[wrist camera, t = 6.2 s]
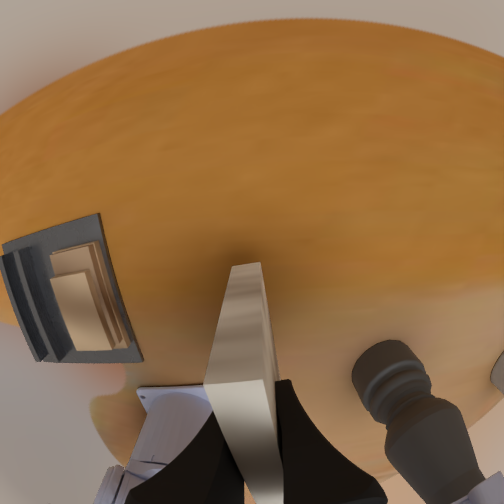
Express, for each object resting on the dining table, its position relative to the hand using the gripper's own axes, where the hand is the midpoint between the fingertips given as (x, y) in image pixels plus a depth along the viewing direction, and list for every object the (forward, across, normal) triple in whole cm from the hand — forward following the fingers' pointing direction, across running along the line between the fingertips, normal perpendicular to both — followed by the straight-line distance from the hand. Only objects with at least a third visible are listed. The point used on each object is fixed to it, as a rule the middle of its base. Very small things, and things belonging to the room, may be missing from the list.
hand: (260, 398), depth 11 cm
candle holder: (+11, -10, +9) cm, 17 cm away
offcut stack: (+10, +14, -2) cm, 17 cm away
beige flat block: (+5, 0, 0) cm, 5 cm away
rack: (+10, +18, -2) cm, 20 cm away
